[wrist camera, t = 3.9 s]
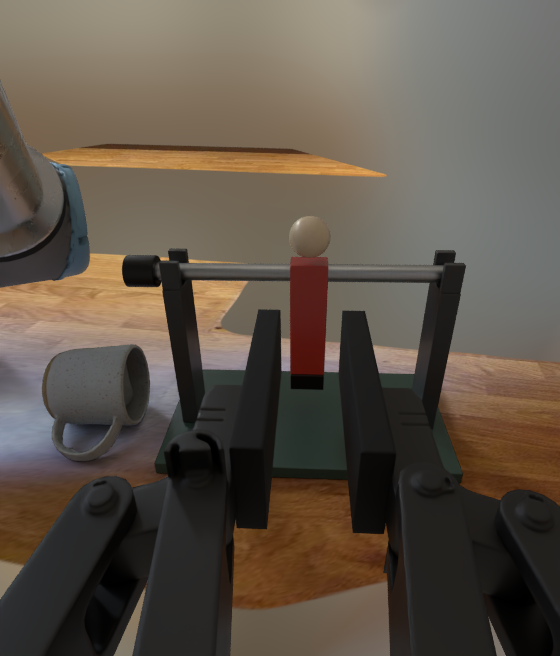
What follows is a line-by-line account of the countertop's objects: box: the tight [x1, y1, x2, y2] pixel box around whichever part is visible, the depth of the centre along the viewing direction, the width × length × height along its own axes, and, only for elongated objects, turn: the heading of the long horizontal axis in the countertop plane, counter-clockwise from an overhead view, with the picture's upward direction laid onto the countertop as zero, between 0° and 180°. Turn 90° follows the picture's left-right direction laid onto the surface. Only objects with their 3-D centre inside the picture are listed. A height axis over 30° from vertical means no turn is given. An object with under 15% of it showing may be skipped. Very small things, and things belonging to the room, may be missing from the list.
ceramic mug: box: [42, 344, 150, 461], centre depth 43 cm, size 11×8×8 cm
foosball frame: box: [155, 249, 466, 483], centre depth 40 cm, size 26×14×17 cm, turn 87°
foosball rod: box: [122, 216, 444, 390], centre depth 39 cm, size 26×4×16 cm, turn 87°
